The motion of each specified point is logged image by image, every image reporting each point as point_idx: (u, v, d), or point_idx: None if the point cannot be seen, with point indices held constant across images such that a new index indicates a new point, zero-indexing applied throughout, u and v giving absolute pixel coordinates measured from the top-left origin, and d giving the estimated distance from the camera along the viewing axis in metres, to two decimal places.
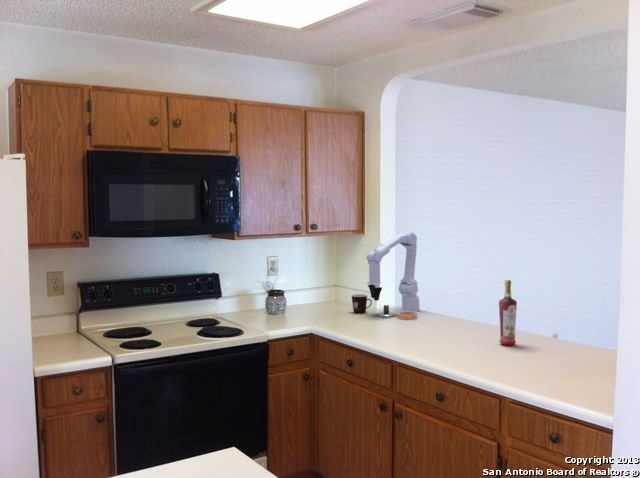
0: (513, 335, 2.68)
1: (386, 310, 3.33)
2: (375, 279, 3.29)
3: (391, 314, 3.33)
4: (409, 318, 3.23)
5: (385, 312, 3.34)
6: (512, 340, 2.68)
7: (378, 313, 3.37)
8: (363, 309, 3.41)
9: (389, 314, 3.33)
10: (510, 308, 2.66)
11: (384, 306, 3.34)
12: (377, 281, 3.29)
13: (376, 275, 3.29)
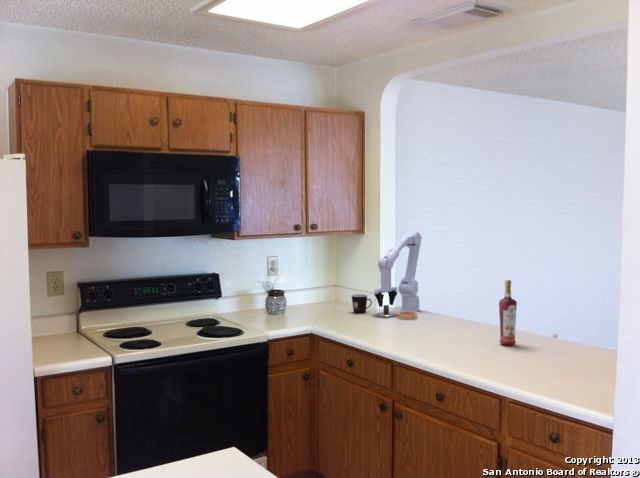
0: (513, 335, 2.68)
1: (386, 310, 3.33)
2: (381, 285, 3.32)
3: (391, 314, 3.33)
4: (409, 318, 3.23)
5: (385, 312, 3.34)
6: (512, 340, 2.68)
7: (378, 313, 3.37)
8: (363, 309, 3.41)
9: (389, 314, 3.34)
10: (510, 308, 2.66)
11: (384, 306, 3.34)
12: (383, 288, 3.32)
13: (382, 282, 3.32)
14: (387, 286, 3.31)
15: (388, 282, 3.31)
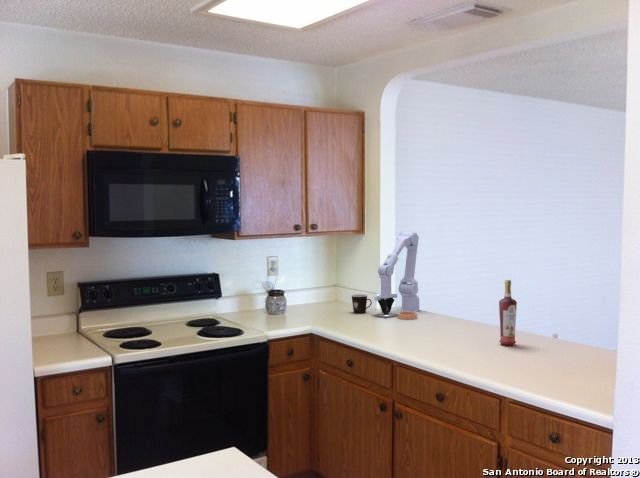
0: (513, 335, 2.68)
1: (386, 310, 3.33)
2: (381, 292, 3.33)
3: (391, 314, 3.33)
4: (409, 318, 3.23)
5: None
6: (512, 340, 2.68)
7: (378, 313, 3.37)
8: (363, 309, 3.41)
9: (389, 314, 3.33)
10: (510, 308, 2.66)
11: None
12: (383, 295, 3.32)
13: (382, 289, 3.32)
14: (387, 293, 3.31)
15: (388, 289, 3.31)
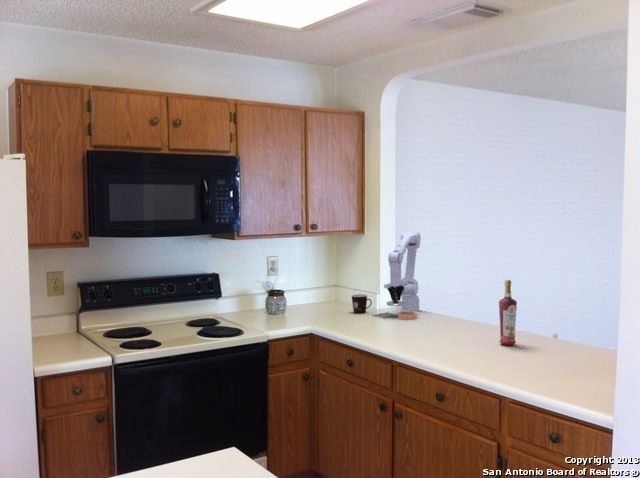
0: (513, 335, 2.68)
1: (396, 299, 3.30)
2: (391, 280, 3.28)
3: (400, 303, 3.30)
4: (409, 318, 3.23)
5: (394, 301, 3.30)
6: (512, 340, 2.68)
7: (387, 302, 3.33)
8: (363, 309, 3.41)
9: (398, 303, 3.30)
10: (510, 308, 2.66)
11: None
12: (393, 282, 3.28)
13: (392, 276, 3.28)
14: (397, 280, 3.27)
15: (398, 276, 3.27)
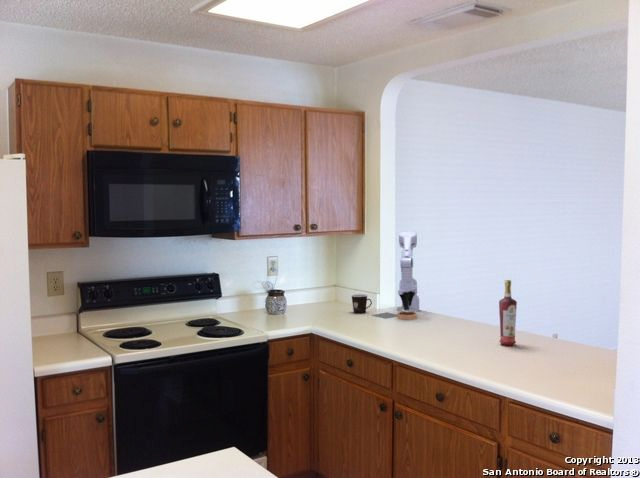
0: (513, 335, 2.68)
1: None
2: (403, 286, 3.24)
3: (412, 309, 3.27)
4: (409, 318, 3.23)
5: (406, 307, 3.26)
6: (512, 340, 2.68)
7: (398, 308, 3.28)
8: (363, 309, 3.41)
9: (410, 309, 3.27)
10: (510, 308, 2.66)
11: None
12: (405, 288, 3.24)
13: (404, 282, 3.24)
14: (410, 286, 3.24)
15: (410, 282, 3.24)
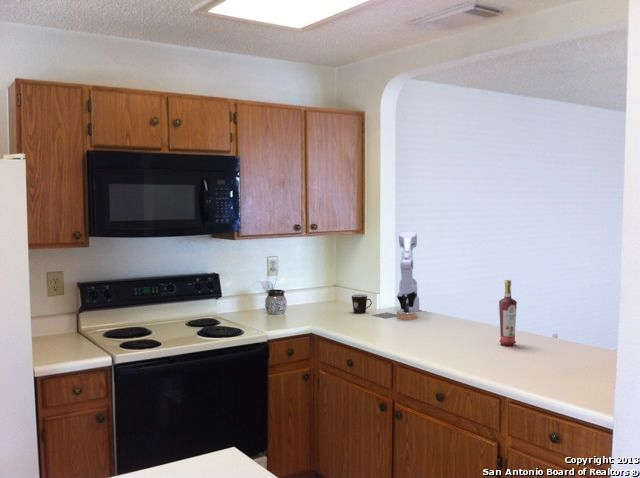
0: (513, 335, 2.68)
1: (407, 308, 3.26)
2: (403, 288, 3.24)
3: (412, 311, 3.27)
4: (409, 318, 3.23)
5: (406, 310, 3.26)
6: (512, 340, 2.68)
7: (397, 311, 3.28)
8: (363, 309, 3.41)
9: (410, 312, 3.27)
10: (510, 308, 2.66)
11: None
12: (405, 290, 3.24)
13: (404, 284, 3.24)
14: (410, 288, 3.24)
15: (410, 284, 3.24)
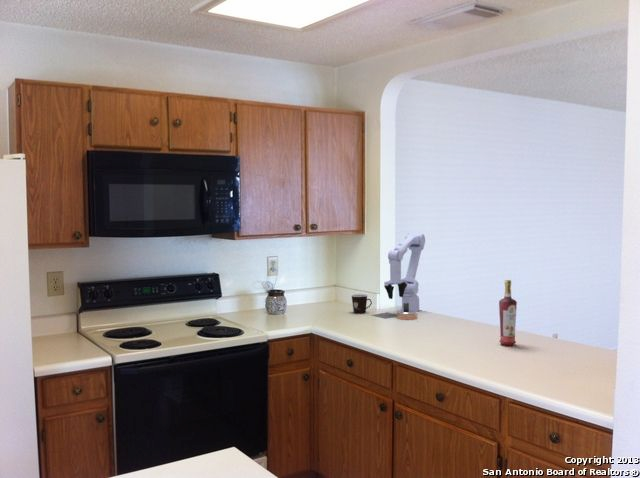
0: (513, 335, 2.68)
1: (407, 308, 3.26)
2: (391, 277, 3.33)
3: (412, 311, 3.27)
4: (409, 318, 3.23)
5: (406, 310, 3.26)
6: (512, 340, 2.68)
7: (397, 311, 3.28)
8: (363, 309, 3.41)
9: (410, 312, 3.27)
10: (510, 308, 2.66)
11: (405, 304, 3.26)
12: (393, 280, 3.32)
13: (392, 274, 3.32)
14: (397, 278, 3.32)
15: (398, 274, 3.32)
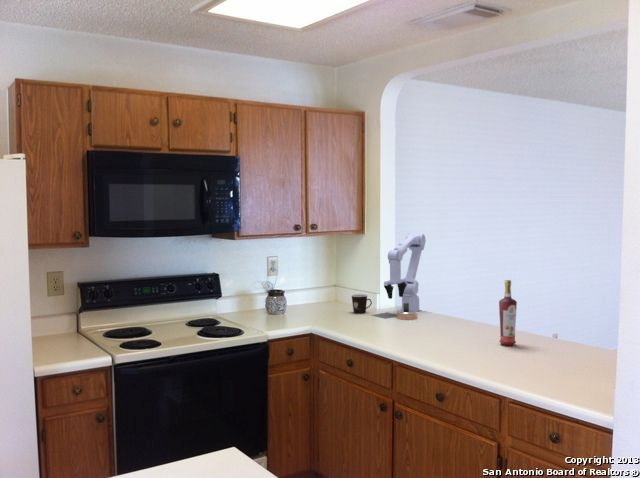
0: (513, 335, 2.68)
1: (407, 308, 3.26)
2: (391, 277, 3.33)
3: (412, 311, 3.27)
4: (409, 318, 3.23)
5: (406, 310, 3.26)
6: (512, 340, 2.68)
7: (397, 311, 3.28)
8: (363, 309, 3.41)
9: (410, 312, 3.27)
10: (510, 308, 2.66)
11: (405, 304, 3.26)
12: (392, 280, 3.32)
13: (392, 274, 3.33)
14: (397, 278, 3.32)
15: (398, 274, 3.32)
